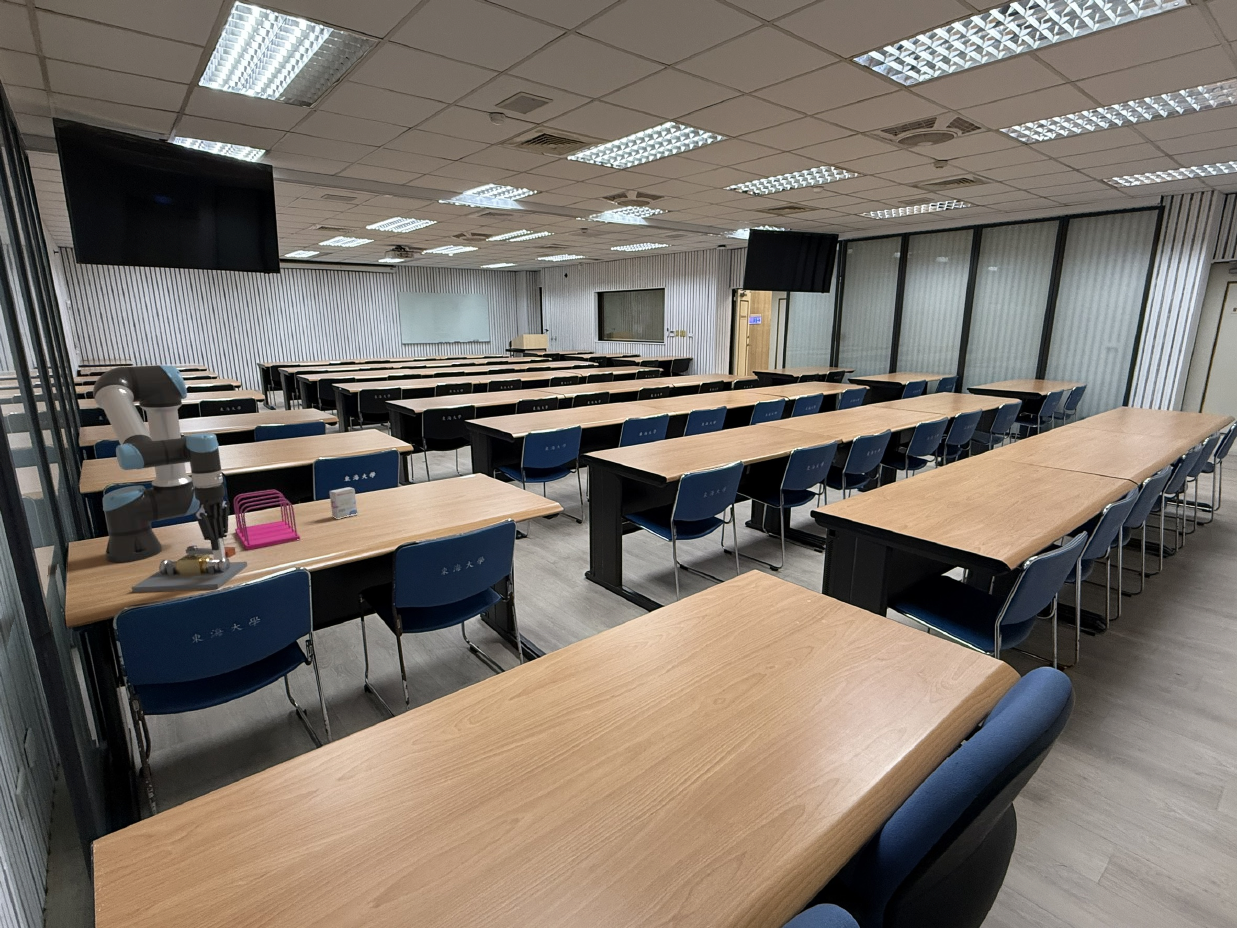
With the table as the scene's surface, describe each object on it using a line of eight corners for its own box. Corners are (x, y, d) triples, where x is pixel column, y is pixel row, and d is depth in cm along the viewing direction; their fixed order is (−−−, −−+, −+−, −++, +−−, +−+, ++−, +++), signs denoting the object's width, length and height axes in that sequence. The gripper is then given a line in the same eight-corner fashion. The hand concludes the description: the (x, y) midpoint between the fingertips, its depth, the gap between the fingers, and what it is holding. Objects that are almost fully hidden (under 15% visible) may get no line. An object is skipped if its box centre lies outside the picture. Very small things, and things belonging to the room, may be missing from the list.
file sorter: (246, 551, 213) (240, 508, 210) (235, 533, 232) (229, 493, 229) (300, 540, 224) (295, 499, 221) (285, 524, 243) (280, 486, 240)
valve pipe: (159, 578, 187) (156, 561, 186) (171, 570, 193) (168, 554, 192) (222, 575, 189) (219, 558, 188) (231, 568, 195) (229, 552, 194)
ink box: (351, 513, 257) (349, 486, 255) (357, 515, 254) (355, 488, 252) (331, 517, 251) (328, 490, 248) (337, 520, 248) (334, 492, 245)
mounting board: (132, 592, 180) (131, 587, 179) (169, 568, 197) (169, 564, 197) (218, 588, 182) (217, 583, 182) (247, 565, 200) (246, 561, 199)
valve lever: (185, 557, 189) (183, 548, 188) (192, 553, 192) (191, 545, 191) (229, 558, 187) (227, 550, 187) (236, 555, 190) (234, 546, 190)
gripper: (205, 490, 175) (217, 566, 180) (235, 479, 187) (245, 551, 192) (180, 490, 175) (192, 566, 180) (211, 479, 187) (222, 551, 193)
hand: (219, 558), depth 186 cm, fingers closed
